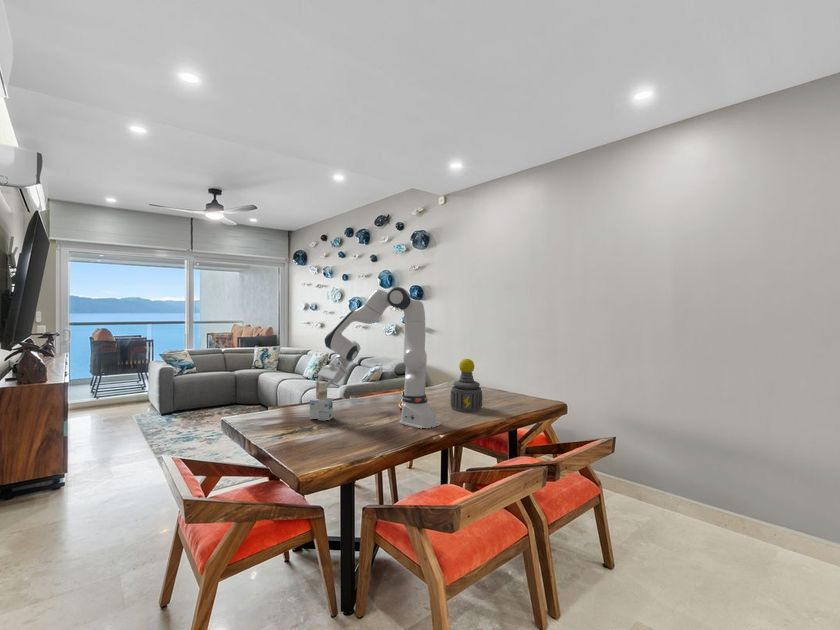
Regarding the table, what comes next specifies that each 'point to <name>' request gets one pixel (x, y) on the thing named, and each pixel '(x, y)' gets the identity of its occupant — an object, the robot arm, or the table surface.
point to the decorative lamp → (466, 390)
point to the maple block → (321, 390)
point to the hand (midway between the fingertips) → (320, 385)
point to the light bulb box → (321, 409)
